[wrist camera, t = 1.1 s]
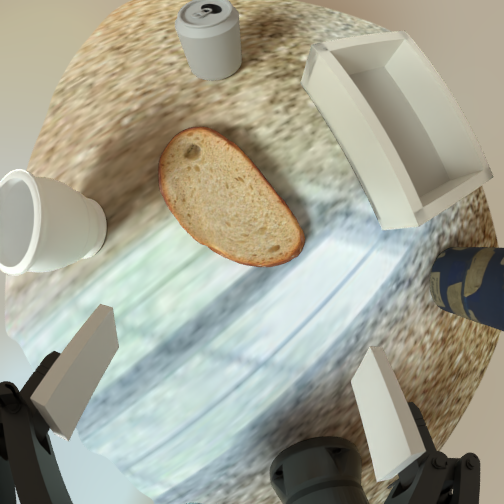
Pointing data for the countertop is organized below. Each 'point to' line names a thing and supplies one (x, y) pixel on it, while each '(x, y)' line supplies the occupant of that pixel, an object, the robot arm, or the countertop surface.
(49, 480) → the robot arm
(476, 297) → the canister
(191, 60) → the can
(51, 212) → the jar
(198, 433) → the countertop surface
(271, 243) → the bread slice
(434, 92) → the open box
